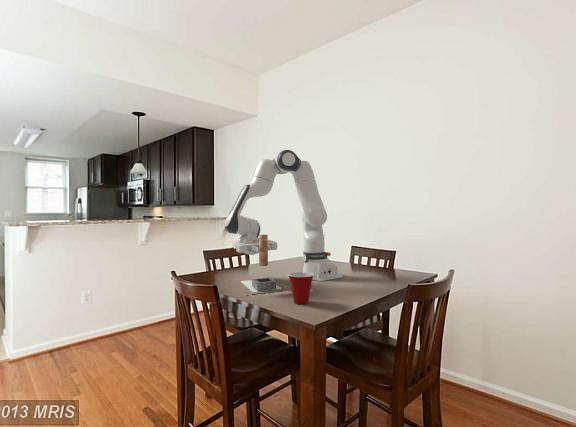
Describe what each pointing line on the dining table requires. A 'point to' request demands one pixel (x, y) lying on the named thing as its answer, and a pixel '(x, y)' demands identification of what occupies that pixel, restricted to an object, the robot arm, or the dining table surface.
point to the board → (261, 285)
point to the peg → (263, 250)
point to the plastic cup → (301, 286)
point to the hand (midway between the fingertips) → (264, 248)
